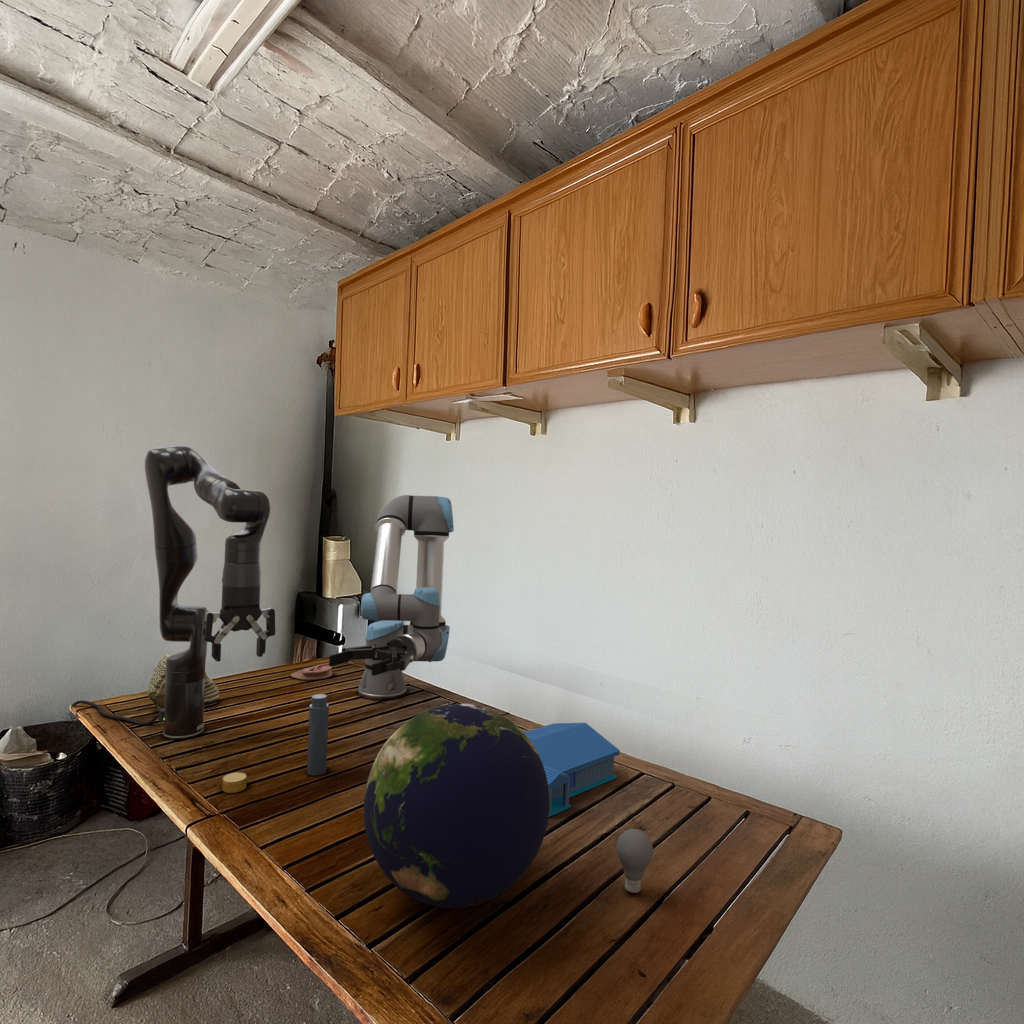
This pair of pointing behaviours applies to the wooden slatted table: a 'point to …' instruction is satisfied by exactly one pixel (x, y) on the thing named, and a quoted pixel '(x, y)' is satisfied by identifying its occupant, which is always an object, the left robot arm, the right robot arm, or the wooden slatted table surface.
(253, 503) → the left robot arm
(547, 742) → the model building
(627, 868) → the light bulb
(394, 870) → the globe
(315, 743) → the grey bottle
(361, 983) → the wooden slatted table surface
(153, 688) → the fossil
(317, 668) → the anatomical model
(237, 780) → the lid
